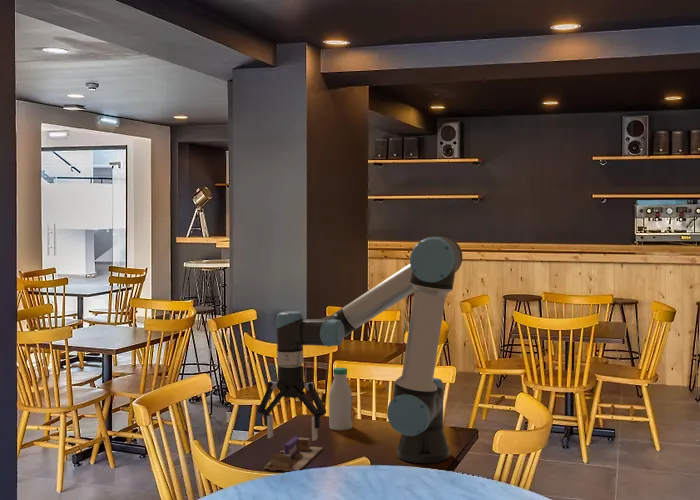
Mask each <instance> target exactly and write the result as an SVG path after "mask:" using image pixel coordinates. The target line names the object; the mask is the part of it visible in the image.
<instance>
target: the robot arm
mask: <svg viewBox="0 0 700 500" xmlns="http://www.w3.org/2000/svg"><path fill="white" fill-rule="evenodd" d="M462 263H463V251H462V249H461V247H460V245H459V244H458V243H457V242H456V241H455V240H454V239H452V238H451V237H448V236H428V237H426V238H423V239H422V240H420V241H419V242H417V244H415V246H414V247H413V248H412V250H411V253H410V255H409V263H408V264H407V265H406V266H404V267H402V268H401V269H399V270H398V271H397V272H395V273H393V274H391V275H390V276H388V277H387V278H386V279H384V280H383V281H381V282H380V283H378V284H377V285H375V286H374V287H372V288H371V289H369V290H367V291H366V292H365V293H363V294H362V295H360V296H358V297H357V298H355V299H354V300H352V301H351V302H349V303H348V304H346V305H345V306H343V307H342V308H340V309H339V310H337V311H336V312H334V313H332V314H331V315H329V316H325V317H322V318H313V319H312V318H310V319H309V318H308V319H307V318H303V313H302V312H301V311H295V310H292V311H290V310H289V311H280V312H279V313H277V316H276V327H275V329H276V356H277V359H276V360H277V363H276V364H277V365H278V367H277V381H274V380H270V381H268V382H267V384H266V390H265V393H264V395H263V398H262V400H261V402H260V404H259V406H258V409H257V413H258V414H262V415H263V419H264V420H263V422H264V424H263V425H264V427H267V429H266V430H267V439H271V438H273V437H274V414H273V413H272V411H273V410H274V408H275V407H276V406H277V405H278V404H279V402H280V401H281V400H282V399H283V398H286V399H289V398H292V399H296V398H298V400H300V401H301V402H302V404H304V406H305V407H306V408H307V410H309V412H310V413H311V415H313V416H312V417H311V441H316V440H317V439H318V437H319V436H318V429H320V427H321V417H323V416H324V415H325V414H327V410H326V408H325V406H324V404H323V403H324V402H323V401H322V400H321V397H320V395H319V394H318V391H317V389H316V384H315V381H311V382H305V372H304V371H305V369H304V365H303V364H304V346H317V347H318V346H321V347H337V346H340V345H342V343H343V341H344V340H345V339H344V338H346V337H348V336H349V335H350V334H351V333H352V332H354V331H355V330H357V329H358V328H360V327H361V326H363V325H365V324H366V323H367V322H369V321H371V320H373V318H375V317H377V316H378V315H380V314H382V313H383V312H385V311H387V310H389V308H391V307H392V306H394V305H396V304H397V303H399V302H401V301H402V300H403V299H405V298H406V297H407V298H408V296H410V295H412V294H413V298H412V304H411V305H412V306H411V313H410V318H409V324H408V325H409V326H408V332H407V338H406V346H405V351H404V352H405V353H404V359H403V366H402V373H401V376H399V377H398V378H397V379H395V382H394V388H393V395H392V399H391V400H390V401H389V402H388V406H387V411H386V415H387V420H388V423H389V424H390V426H391V428H393V430H394V431H396V432H397V433H398V434H400V435H401V436H400V439H399V443H398V445H397V457H398V459H400V460H403V461H405V462H409V463H415V464H436V463H440V462H441V463H442V462H444V461H446V460H449V458H450V457H451V455H450V446H449V445H448V442H447V437H446V434H445V431H444V430H445V429H444V391H445V388H444V383H443V381H442V379H440V378H439V377H438V378H437V377H434V376H435V369H436V368H435V367H436V362H437V355H438V350H439V345H440V344H439V343H440V342H439V341H440V336H441V329H442V325H443V324H442V323H443V316H444V311H445V310H444V309H445V305H446V304H445V303H446V298H447V295H448V294H449V293H451V292H452V291H453V289H454V288H453V287H454V282H455V275H456V273H457V272H458V271H459V269H460V268H461V265H462ZM276 388H277V390H279V392H278V393H277V395H276V396H275V397H274V399H273V400H272V401H271V402H270V404H269V405H268V402H269V401H270V398H271V396H272V394H273V392H274V390H275V389H276ZM305 388H306V390H307V391H308V393H309V395H310V397H311V399H312V401H311V399H310V398H309V396H307V393H306V392H305V391H304V390H305ZM267 405H268V406H267Z"/></svg>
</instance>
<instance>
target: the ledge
mask: <svg viewBox="0 0 700 500" xmlns="http://www.w3.org/2000/svg"><path fill="white" fill-rule="evenodd" d="M298 438H299V451H298V452H297V453H296V454H295V455H294V456H293V457H292V458H291V455H288V454H284V450H279V453H273V454H271V455H270V456H271V459H270V461H269V462H268V463H266V465H265V466H264V470H265V469H269V470H268V471H276V470H283V471H282V472H289V471H292V470H299V469H302V470H303V469H304V468H305V467H306V466H307V465H308V464H309V463H310V462H311V461H312V460H314V458H316V457H317V456H318V454H319V453H321V452H322V451H323V447H319V446H311V438H309V437H298Z"/></svg>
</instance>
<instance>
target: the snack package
mask: <svg viewBox="0 0 700 500" xmlns="http://www.w3.org/2000/svg"><path fill="white" fill-rule="evenodd" d="M299 438H300V437H299V434H296V435H295V436H294V437H292V438H290V440H288V441H287V442H286V443H285V444H284V445H283V446H284V449H283V451H284V454H288V455H291V458H292V457H293V456H294V455H295V454H296V453H297V452H298V451H299Z"/></svg>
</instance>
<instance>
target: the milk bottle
mask: <svg viewBox="0 0 700 500" xmlns="http://www.w3.org/2000/svg"><path fill="white" fill-rule="evenodd" d="M332 371H333V381H332V384H331V386H330V388H329V392H328V393H329V395H328V419H329V420H328V423H329V424H328V425H329V429H330V430H332V431H348V430H351V429H352V428H353V393H352V388H351V386H350V384H349V381H348V378H347V376H348V369H347V367H335V368H333V370H332Z"/></svg>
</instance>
